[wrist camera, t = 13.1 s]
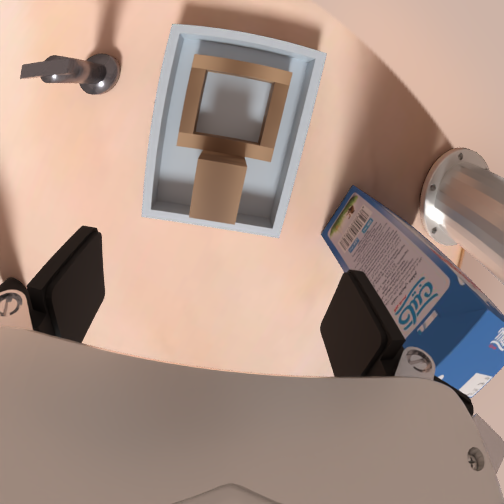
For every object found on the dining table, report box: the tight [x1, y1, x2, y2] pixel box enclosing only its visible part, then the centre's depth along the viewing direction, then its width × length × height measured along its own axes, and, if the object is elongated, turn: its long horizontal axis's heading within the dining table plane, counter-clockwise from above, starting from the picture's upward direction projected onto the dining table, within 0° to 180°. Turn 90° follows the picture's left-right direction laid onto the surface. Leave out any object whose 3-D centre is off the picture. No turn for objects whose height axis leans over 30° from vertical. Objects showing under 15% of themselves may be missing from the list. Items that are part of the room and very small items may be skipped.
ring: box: [176, 54, 293, 225], centre depth 22 cm, size 8×12×6 cm, turn 168°
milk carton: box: [321, 185, 504, 398], centre depth 22 cm, size 10×6×20 cm, turn 62°
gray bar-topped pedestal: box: [20, 54, 120, 94], centre depth 16 cm, size 4×4×10 cm
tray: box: [142, 24, 327, 238], centre depth 23 cm, size 13×17×3 cm
